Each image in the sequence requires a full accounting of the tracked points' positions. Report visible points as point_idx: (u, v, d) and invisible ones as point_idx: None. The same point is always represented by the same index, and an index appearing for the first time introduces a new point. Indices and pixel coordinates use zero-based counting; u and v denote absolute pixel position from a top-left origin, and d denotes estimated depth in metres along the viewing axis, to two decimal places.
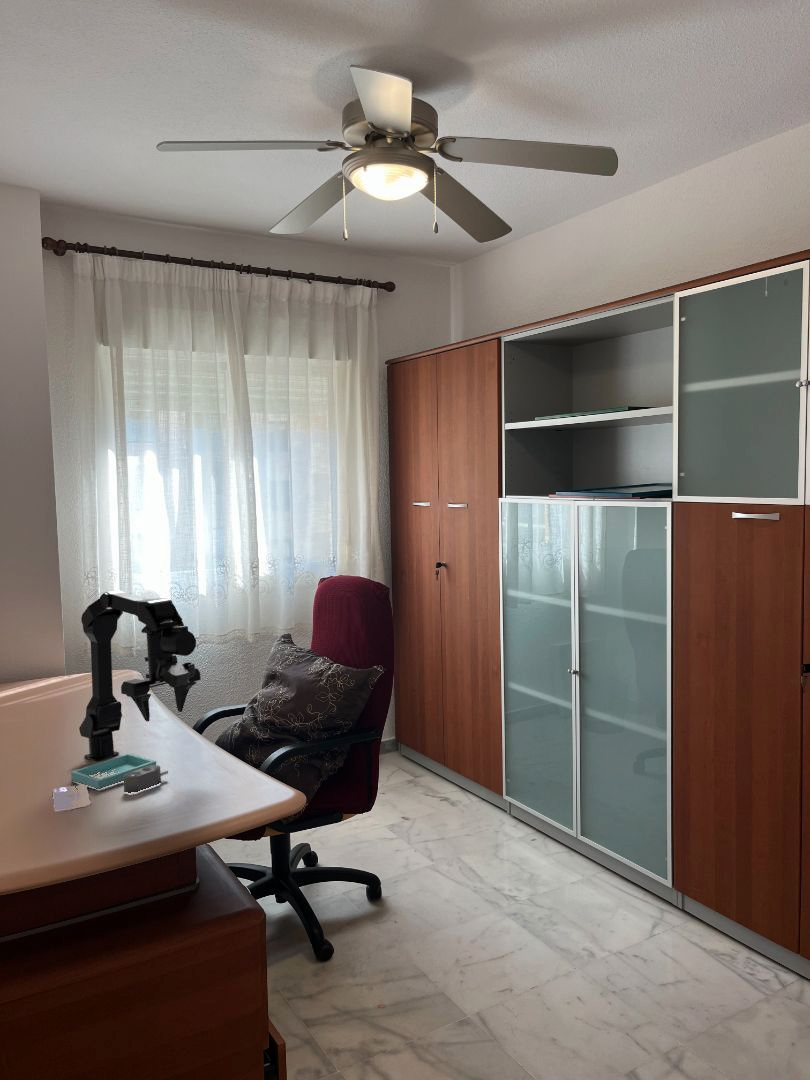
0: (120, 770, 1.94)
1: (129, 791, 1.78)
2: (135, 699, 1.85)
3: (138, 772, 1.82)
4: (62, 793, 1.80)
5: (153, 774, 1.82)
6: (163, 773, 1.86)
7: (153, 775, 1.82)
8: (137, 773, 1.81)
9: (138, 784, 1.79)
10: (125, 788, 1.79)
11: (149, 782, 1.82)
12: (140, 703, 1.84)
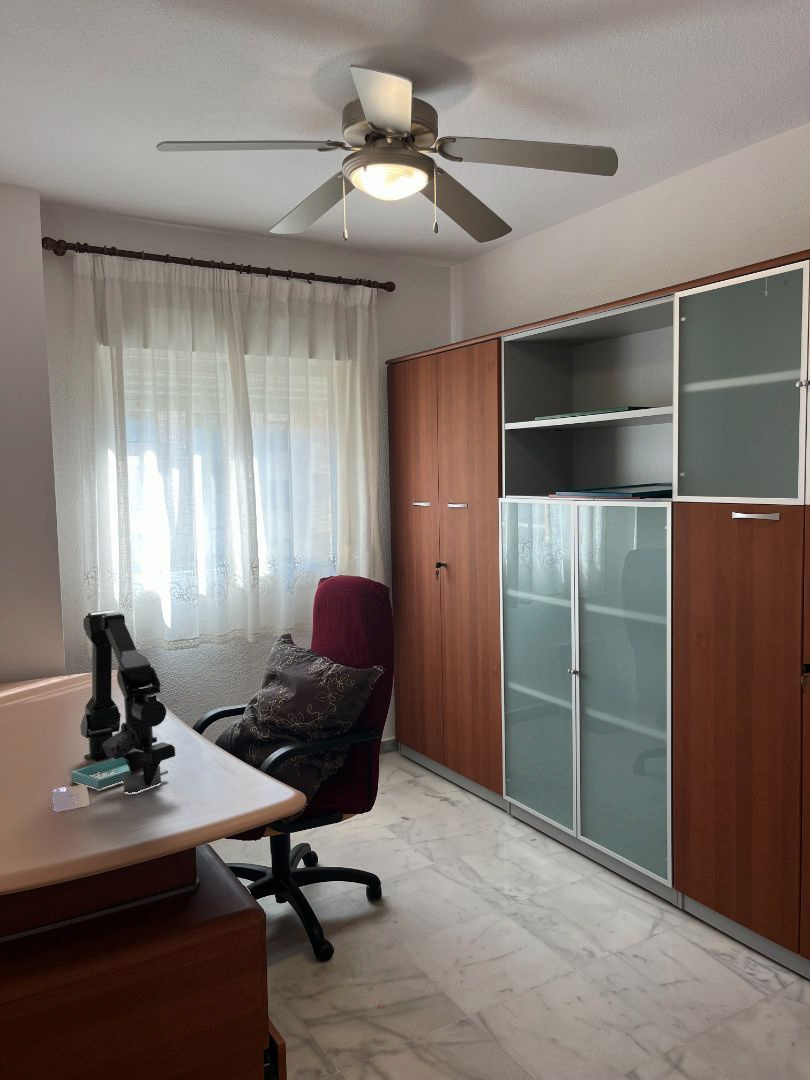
0: (120, 770, 1.94)
1: (129, 791, 1.78)
2: None
3: (138, 772, 1.82)
4: (62, 793, 1.80)
5: None
6: (163, 773, 1.86)
7: None
8: (137, 773, 1.81)
9: (138, 783, 1.79)
10: (125, 788, 1.79)
11: None
12: None
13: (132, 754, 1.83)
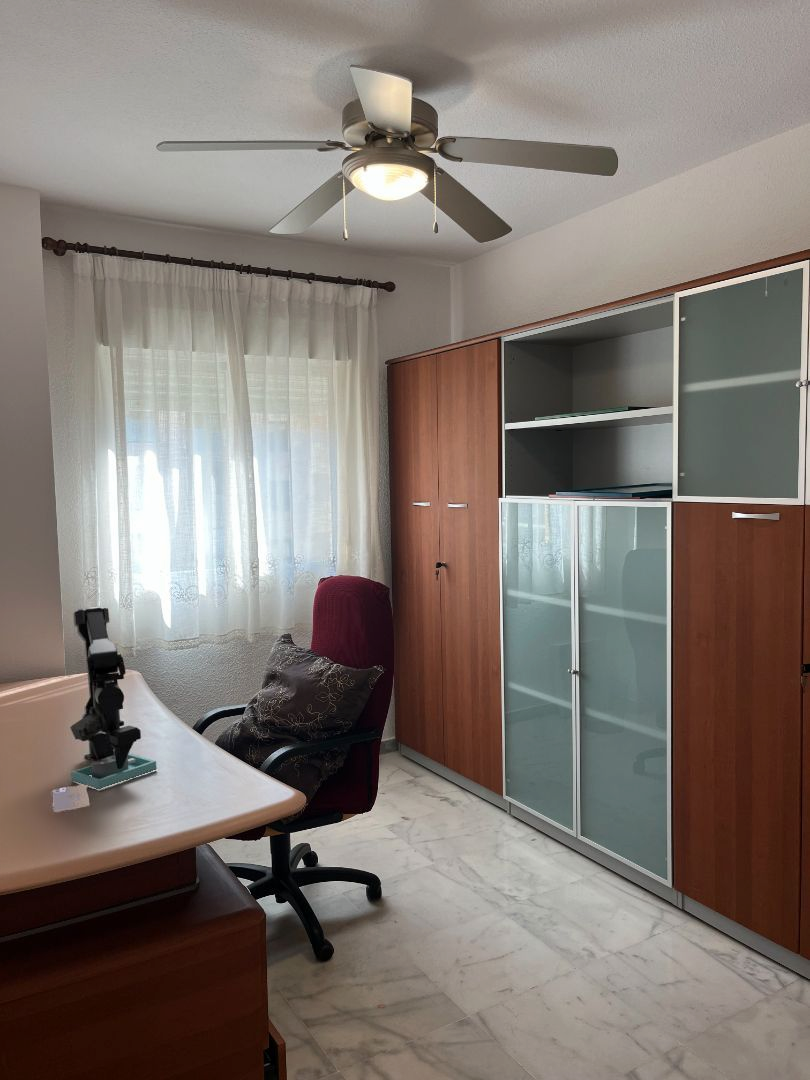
0: None
1: (97, 778, 1.86)
2: None
3: (106, 760, 1.90)
4: (62, 793, 1.80)
5: None
6: (131, 761, 1.94)
7: None
8: (105, 761, 1.89)
9: (105, 771, 1.87)
10: (93, 775, 1.87)
11: (116, 770, 1.89)
12: None
13: (96, 736, 1.92)
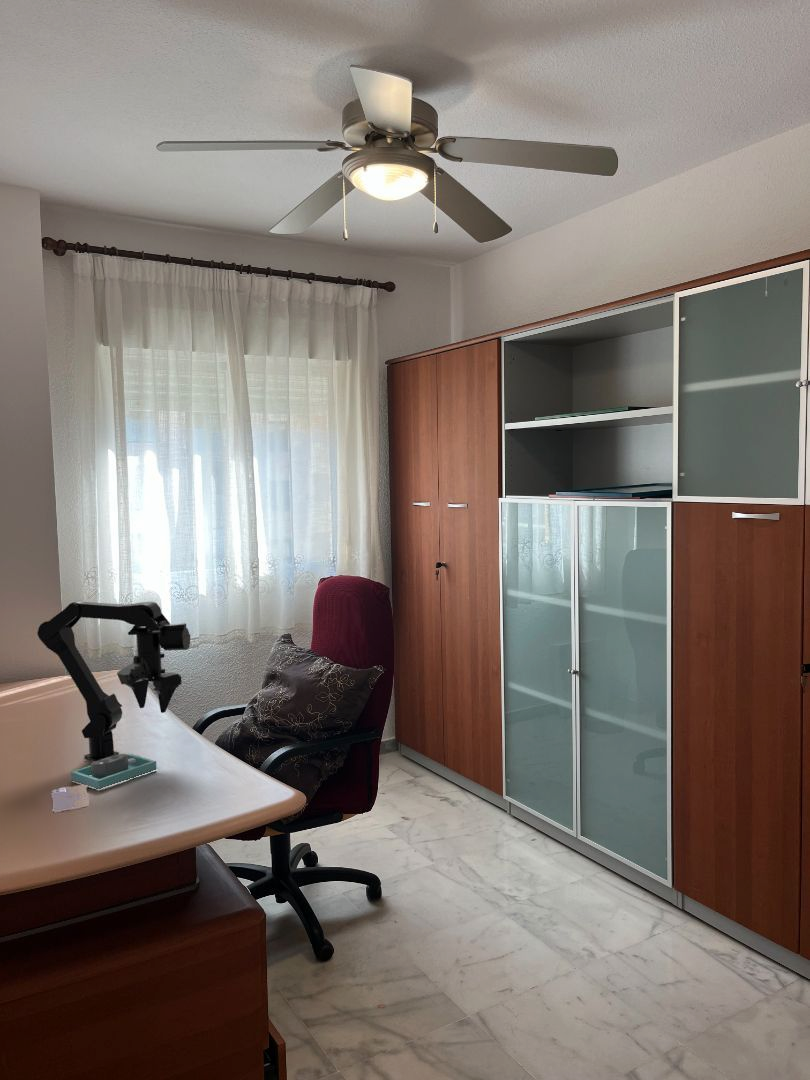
0: None
1: (97, 778, 1.86)
2: None
3: (106, 760, 1.90)
4: (61, 793, 1.80)
5: (120, 762, 1.90)
6: (131, 761, 1.94)
7: (120, 763, 1.90)
8: (105, 761, 1.89)
9: (105, 771, 1.87)
10: (93, 775, 1.87)
11: (116, 770, 1.89)
12: None
13: (137, 683, 2.08)
